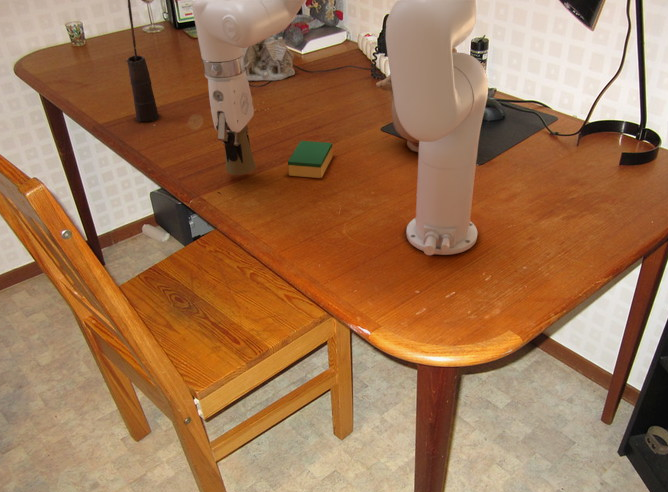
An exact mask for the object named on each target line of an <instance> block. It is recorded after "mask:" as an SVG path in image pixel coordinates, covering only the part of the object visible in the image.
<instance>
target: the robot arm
mask: <svg viewBox="0 0 668 492" xmlns="http://www.w3.org/2000/svg"><path fill="white" fill-rule="evenodd" d="M305 1H306V0H191V7H192V8H191V9H192V14H193V19H194V24H195V29H196V35H197V41H198V45H199V51H200V56H201V62H202V67H203V73H204V77H205V78H206V79H207V87H208V88H207V89H208V97H209V106H210V112H211V113H210V114H211V118H212V122H213V126H214V129H215V131H216V132H217V139H218V141H220V142H222V145H223V146H224V152H225V151H226V156H227V162H229V159H230V160H231V161H236V160H237V159H238V156H239V158H240V160H241V162H242V163H243V157H242V148H241V144H239V141H238V134H237V133H238V132H240V131H241V130H242V129H243V128H244V127H245V126H246V124H247V129H246V131H245V132H246V135H247V138H248V142H249V145H250V146H251V142H250V136H249V125H248V123H249V122H250V121H251V120H252V119H253V117H254V115H255V109H254V103H253V102H254V101H253V98H252V97H253V96H252V93H251V87H250V81H248V78H247V75H246V69H245V62H244V55H243V48H247V47H250V46H253V45H255V44H257V43H259V42H261V41H263V40H265V39H267V38H269V37H273V36H275V35H278V34H280V33H282V32H283V31H284V30H286V29H287V28H288V27H289V26H290V25H291V23H292V22H293V20H294V19H295V17H296V16H297V15H298V13H299V12H300V10H301V8H302V6H303V5H304V3H305ZM476 3H477V2H476V0H396V1H395V3H394V4H393V6H392V7H391V9H390V11H389V14H388V17H387V20H386V25H385V47H386V54H387V61H388V67H389V75H390V76H391V83H392V89H393V96H394V103H395V108H396V112H397V115H398V118H399V121H400V123H401V125H402V126H403V128H404V129H405V131H406V132H407V133H408V134H409V135H410V136H412V137H413V138H415V139H417V140H419V152H418V155H417V156H418V157H417V178H416V179H417V181H416V182H417V183H416V203H415V204H416V205H415V206H416V207H415V217H414V218H412V220H410V221H409V222H408V224H407V226H406V231H405V232H406V233H405V234H406V238H407V240H408V242H409V244H410V245H412V246H413V247H414V248H416V249H417V250H420V251H422V252H423V253H424V254H425V255H426V256H433V255H439V256H448V255H449V256H450V255H451V256H452V255H456V254H460V253H463V252H466V251H467V250H469V249H471V248H472V247H473V246H474V245H475V244H476V242H477V240H478V229H477V226H476V225H475V224H474V223H473V222H472V221H471V215H472V205H473V204H472V203H473V195H474V187H475V175H476V168H477V159H478V150H479V149H478V148H479V141H480V135H481V130H482V129H481V128H482V124H483V119H484V114H485V110H486V106H487V102H488V95H489V94H488V93H489V81H488V77H487V76H488V75H487V73H486V70H485V68H484V66H483V64H482V63H481V62H480V60H479V59H477V58H476V57H475V56H473V55H471V54H469V53H465V52H460V51H459V52H458V51H457V53H452V50H453V49H454V48H457V47H458V46H459V45H460V44H462V43H463V42H464V41H466V39H468V38H469V36H470V35H471V34H472V32H473V30H474V28H475V25H476V21H477V5H476ZM227 127H229V128H230V129H231V130H228V129H227ZM227 133H233V137H232V136H229V135H227ZM237 153H238V154H237Z"/></svg>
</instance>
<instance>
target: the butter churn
mask: <svg viewBox="0 0 668 492" xmlns="http://www.w3.org/2000/svg"><path fill="white" fill-rule="evenodd" d="M127 8H128V9H127V10H128V16H129V17H128V18H129V23H130V30H131V38H132V46H133V53H134V54H133V55H132V56H129V57H128V58H127V59H124V62H126V63H127V68H128V75H129V78H130V86H131V90H132V97H133V103H134V111H135V119H136V121H138V122H140V123H143V122H144V123H145V122H154V121H157V120H159V119H160V117H159V116H160V115H159V111H158V107H157V103H156V98H155V95H154V92H153V86H152V79H151V76H150V71H149V68H148V64H147V61H146V58H145V56H142V55H140V54H139V55H138V53H137V52H138V51H137V48H136V47H137V44H136V43H137V42H136V38H135V37H136V36H135V29H134V21H133V13H132V4H131V0H127Z"/></svg>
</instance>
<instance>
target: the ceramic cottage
mask: <svg viewBox="0 0 668 492" xmlns="http://www.w3.org/2000/svg"><path fill="white" fill-rule="evenodd" d="M243 55H244V62H245V69H246V75H247V78H248V82H251V81H257V82H258V81H282V80H284V79H287V78H289V77H292V76H294V75H296V71H295V69H294V59H295V54H294V53H293V52H291V51H290V49H289V48H288V46H287V44H286V43H285V40H284V38H283V36H278V37H277V39H276V37H273V36H271V37H269V38H267V39H265V40H263V41H261V42H259V43H257V44H255V45H253V46H250V47H247V48H243Z"/></svg>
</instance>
